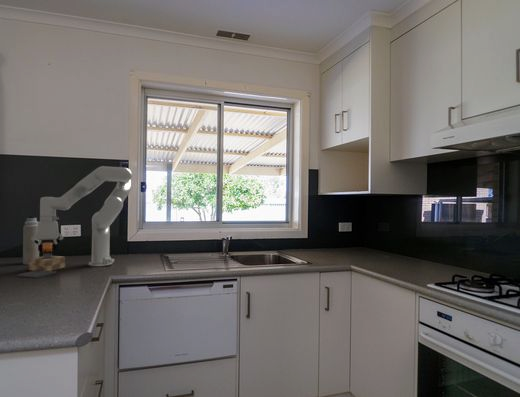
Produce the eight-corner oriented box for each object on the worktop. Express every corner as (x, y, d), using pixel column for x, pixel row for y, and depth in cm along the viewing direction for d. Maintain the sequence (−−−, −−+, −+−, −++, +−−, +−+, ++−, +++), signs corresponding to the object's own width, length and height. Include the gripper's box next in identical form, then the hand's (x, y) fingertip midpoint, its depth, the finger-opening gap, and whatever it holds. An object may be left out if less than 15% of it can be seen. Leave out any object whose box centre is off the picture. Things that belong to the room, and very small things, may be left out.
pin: (56, 267, 191) (56, 243, 191) (47, 270, 185) (47, 244, 185) (47, 267, 192) (47, 242, 192) (38, 269, 186) (38, 243, 186)
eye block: (64, 267, 193) (65, 256, 193) (46, 271, 181) (47, 260, 181) (47, 265, 196) (47, 255, 196) (28, 270, 184) (28, 259, 184)
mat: (56, 273, 179) (56, 271, 179) (36, 278, 167) (36, 276, 167) (37, 271, 182) (37, 269, 182) (16, 276, 170) (16, 274, 170)
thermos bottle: (32, 261, 207) (33, 215, 207) (42, 262, 205) (43, 216, 205) (19, 263, 200) (20, 216, 200) (29, 264, 197) (30, 216, 197)
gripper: (65, 218, 196) (65, 249, 196) (29, 218, 187) (29, 251, 187) (66, 219, 190) (65, 251, 190) (28, 219, 181) (28, 253, 181)
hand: (47, 251), depth 189 cm, fingers closed on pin, 6 cm apart
